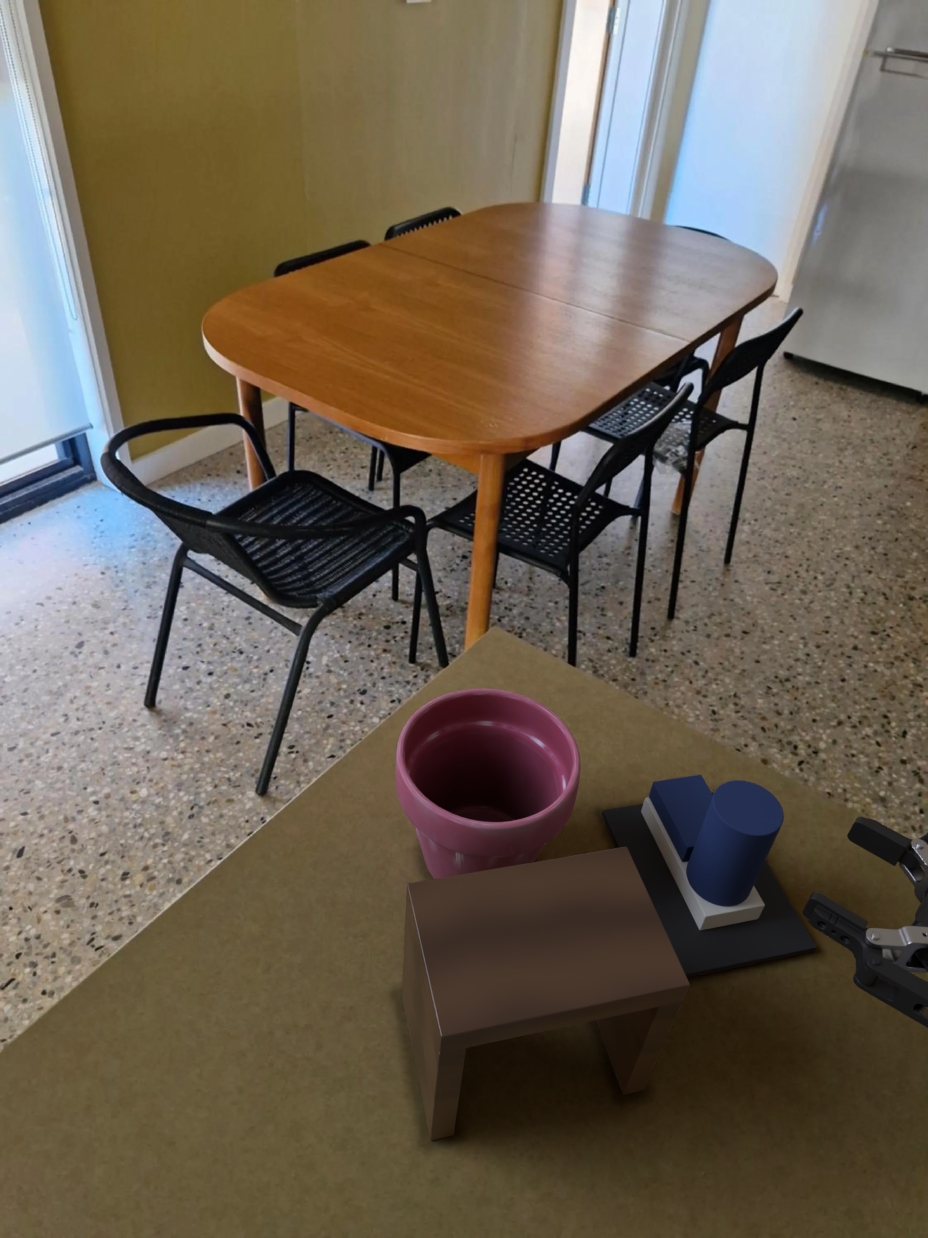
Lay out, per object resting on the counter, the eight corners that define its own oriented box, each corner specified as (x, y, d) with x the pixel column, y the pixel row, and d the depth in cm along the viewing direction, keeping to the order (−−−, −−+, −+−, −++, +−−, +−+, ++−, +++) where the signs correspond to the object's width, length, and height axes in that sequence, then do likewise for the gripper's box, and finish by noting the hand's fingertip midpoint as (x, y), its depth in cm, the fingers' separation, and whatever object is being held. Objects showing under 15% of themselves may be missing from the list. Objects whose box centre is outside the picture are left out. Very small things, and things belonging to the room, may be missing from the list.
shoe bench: (644, 1090, 61) (690, 985, 52) (429, 1141, 57) (440, 1037, 49) (593, 958, 68) (627, 846, 59) (401, 996, 65) (406, 883, 56)
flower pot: (377, 803, 78) (378, 699, 70) (526, 776, 82) (543, 673, 74) (416, 947, 68) (422, 844, 60) (585, 909, 71) (612, 806, 63)
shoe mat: (815, 951, 70) (817, 947, 69) (675, 980, 67) (677, 976, 67) (722, 795, 82) (724, 790, 81) (601, 814, 79) (602, 810, 79)
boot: (758, 919, 71) (800, 834, 64) (699, 931, 70) (735, 845, 63) (693, 803, 80) (724, 716, 73) (640, 811, 79) (666, 724, 72)
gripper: (1129, 898, 58) (882, 770, 65) (1089, 1069, 49) (808, 898, 56) (1072, 960, 62) (848, 834, 70) (1026, 1126, 53) (774, 961, 61)
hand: (830, 863), depth 63 cm, fingers open, 8 cm apart
